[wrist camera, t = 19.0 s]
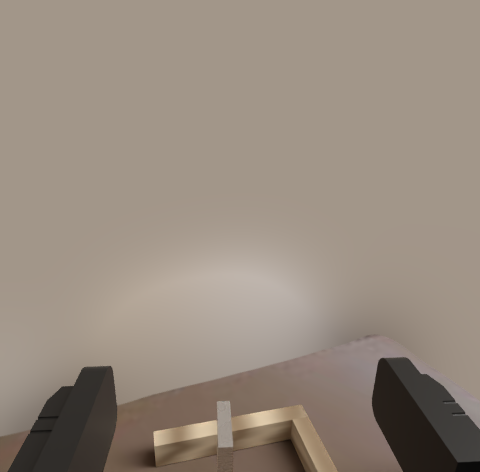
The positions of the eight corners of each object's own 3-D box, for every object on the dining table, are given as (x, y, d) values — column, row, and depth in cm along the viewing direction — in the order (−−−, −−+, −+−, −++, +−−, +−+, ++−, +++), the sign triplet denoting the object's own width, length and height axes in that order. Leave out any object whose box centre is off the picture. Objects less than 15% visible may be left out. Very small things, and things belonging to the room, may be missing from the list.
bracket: (218, 547, 34) (218, 447, 30) (216, 494, 39) (217, 401, 35) (289, 542, 34) (299, 443, 31) (279, 489, 39) (286, 398, 35)
